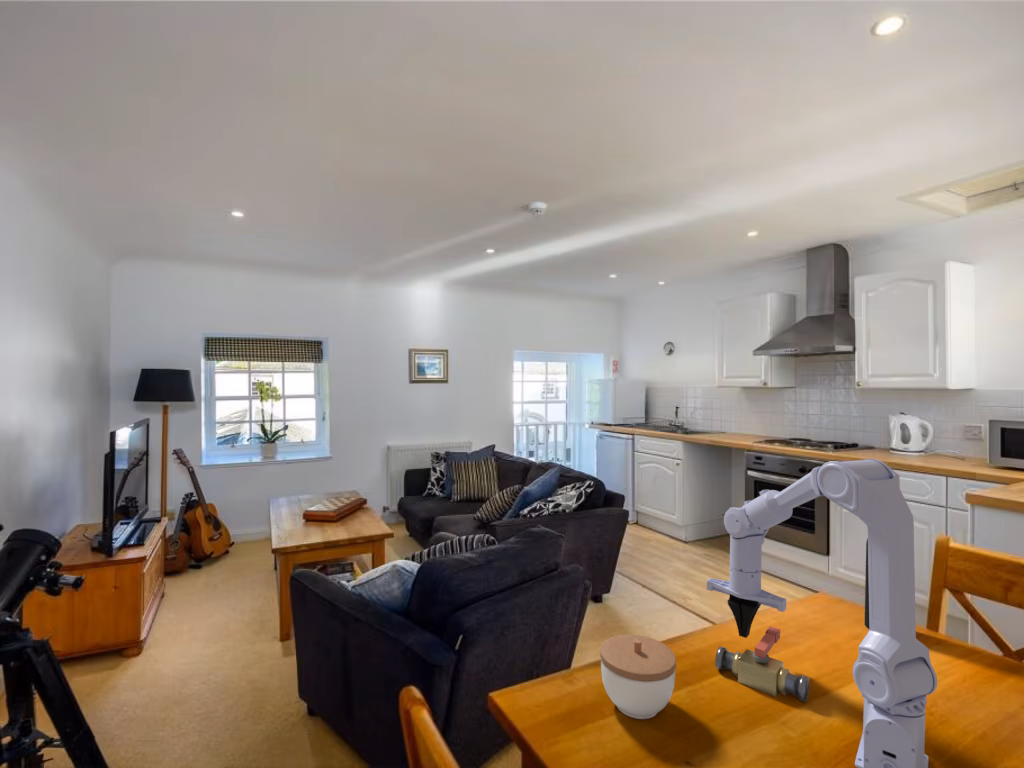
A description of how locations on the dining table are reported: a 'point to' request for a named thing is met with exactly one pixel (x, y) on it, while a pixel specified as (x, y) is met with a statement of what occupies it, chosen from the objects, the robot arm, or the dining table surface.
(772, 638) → the lever
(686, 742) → the dining table surface
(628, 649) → the lidded bowl
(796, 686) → the pipe valve
